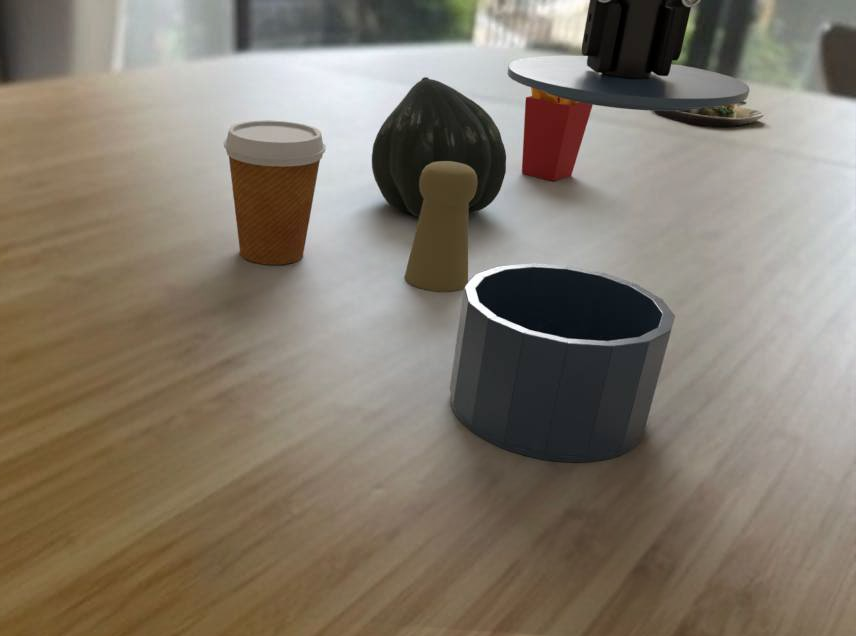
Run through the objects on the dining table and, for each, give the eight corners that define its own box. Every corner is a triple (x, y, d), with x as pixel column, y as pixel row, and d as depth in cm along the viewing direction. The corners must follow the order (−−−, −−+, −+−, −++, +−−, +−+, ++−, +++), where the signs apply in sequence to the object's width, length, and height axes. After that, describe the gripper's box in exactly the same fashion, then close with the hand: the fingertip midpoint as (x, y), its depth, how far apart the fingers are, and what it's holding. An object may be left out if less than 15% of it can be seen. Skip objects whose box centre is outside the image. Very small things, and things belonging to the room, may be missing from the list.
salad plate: (708, 102, 173) (714, 77, 171) (786, 123, 159) (794, 96, 157) (632, 107, 165) (637, 81, 163) (707, 130, 151) (715, 101, 149)
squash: (530, 187, 95) (509, 59, 98) (392, 193, 93) (375, 61, 96) (488, 238, 109) (471, 125, 112) (366, 244, 107) (352, 128, 110)
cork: (481, 284, 85) (499, 168, 80) (432, 296, 82) (447, 176, 77) (439, 263, 89) (453, 152, 84) (391, 273, 86) (402, 159, 81)
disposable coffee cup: (299, 278, 84) (305, 149, 78) (206, 260, 87) (205, 134, 81) (332, 247, 92) (340, 127, 86) (247, 231, 95) (249, 114, 89)
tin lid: (697, 77, 64) (721, -24, 61) (785, 124, 51) (822, -2, 48) (491, 67, 64) (504, -35, 61) (527, 111, 51) (547, -16, 48)
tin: (616, 372, 71) (641, 270, 66) (669, 469, 59) (703, 352, 55) (442, 360, 71) (456, 258, 67) (459, 455, 59) (477, 337, 55)
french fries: (556, 184, 117) (578, 62, 110) (501, 170, 122) (519, 53, 115) (588, 173, 123) (611, 57, 116) (535, 160, 128) (554, 47, 120)
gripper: (819, -270, 52) (733, 67, 61) (532, -285, 52) (488, 55, 61) (888, -294, 45) (780, 89, 54) (560, -310, 45) (506, 74, 54)
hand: (626, 67), depth 57 cm, fingers closed on tin lid, 3 cm apart
